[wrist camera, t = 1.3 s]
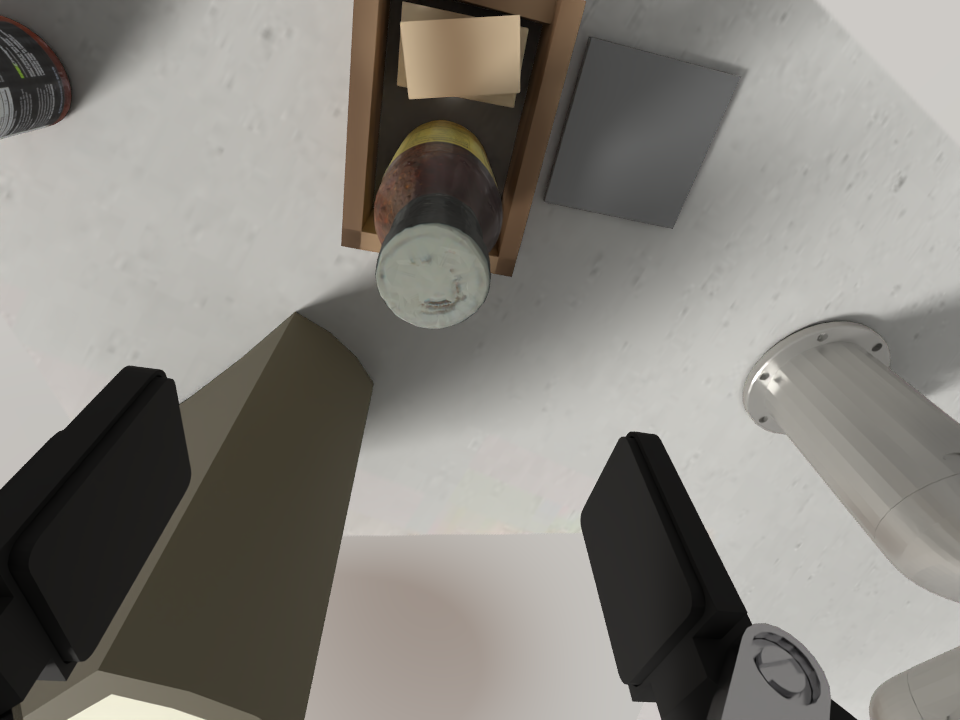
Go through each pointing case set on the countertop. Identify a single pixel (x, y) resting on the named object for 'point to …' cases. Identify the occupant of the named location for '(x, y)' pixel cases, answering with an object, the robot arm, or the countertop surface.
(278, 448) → the book
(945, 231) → the countertop surface
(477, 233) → the sauce bottle
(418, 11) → the offcut low
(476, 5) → the tray
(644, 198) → the mat
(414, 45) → the offcut top
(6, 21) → the supplement bottle
